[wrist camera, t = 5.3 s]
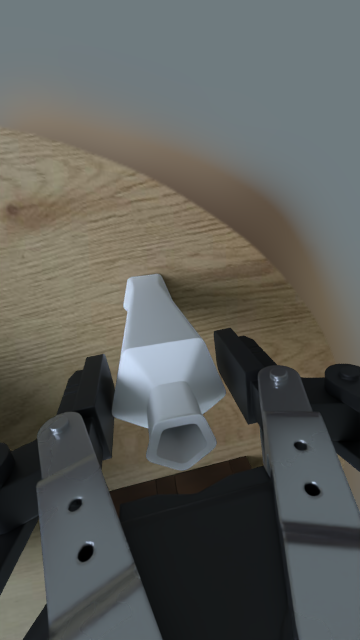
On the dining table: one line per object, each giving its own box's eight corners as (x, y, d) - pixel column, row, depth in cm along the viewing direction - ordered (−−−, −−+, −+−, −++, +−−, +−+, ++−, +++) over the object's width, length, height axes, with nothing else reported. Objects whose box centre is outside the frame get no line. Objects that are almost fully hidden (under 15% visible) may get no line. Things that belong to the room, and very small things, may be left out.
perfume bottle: (187, 284, 22) (284, 408, 9) (160, 329, 23) (208, 505, 10) (135, 255, 21) (152, 349, 7) (108, 305, 22) (78, 472, 8)
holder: (245, 455, 31) (271, 510, 25) (250, 514, 34) (273, 572, 29) (78, 499, 29) (67, 568, 23) (103, 555, 33) (98, 626, 27)
